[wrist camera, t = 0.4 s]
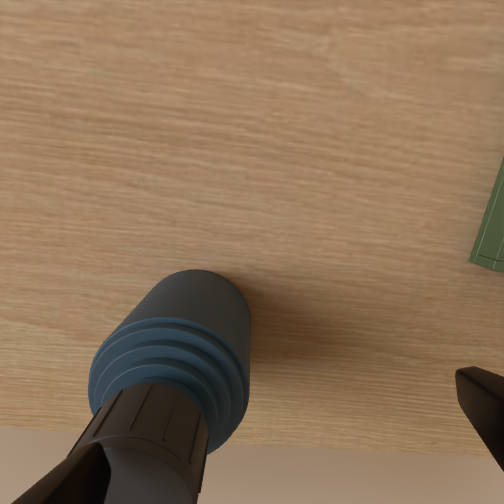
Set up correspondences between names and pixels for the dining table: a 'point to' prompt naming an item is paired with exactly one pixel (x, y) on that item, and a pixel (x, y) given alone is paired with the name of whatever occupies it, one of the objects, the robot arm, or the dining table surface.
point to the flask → (183, 349)
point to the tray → (492, 230)
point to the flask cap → (151, 445)
